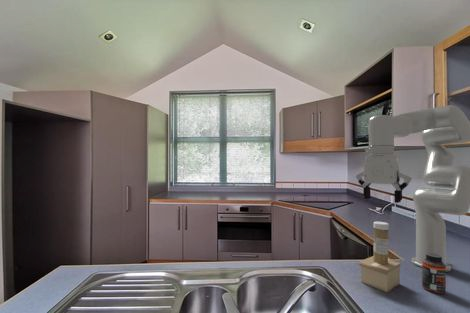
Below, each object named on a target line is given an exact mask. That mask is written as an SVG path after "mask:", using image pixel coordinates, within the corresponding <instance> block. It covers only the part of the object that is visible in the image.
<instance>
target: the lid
mask: <svg viewBox="0 0 470 313" xmlns="http://www.w3.org/2000/svg"><path fill="white" fill-rule="evenodd" d="M373 258H374V255H372V256H369V257H367V258H365V259H363V260H359V261H358V265H359V266H360V267H361V266H363V267H366V268H368V269H371V270H374V271H377V272H380V273H383V274H386V275H387V273H389V272H391V271H393V270H395V269H396V268H398V267H401V263H400V262H398V261H395V260H391V259H388V264H380V263H376V262H375V261H374V260H373Z"/></svg>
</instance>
